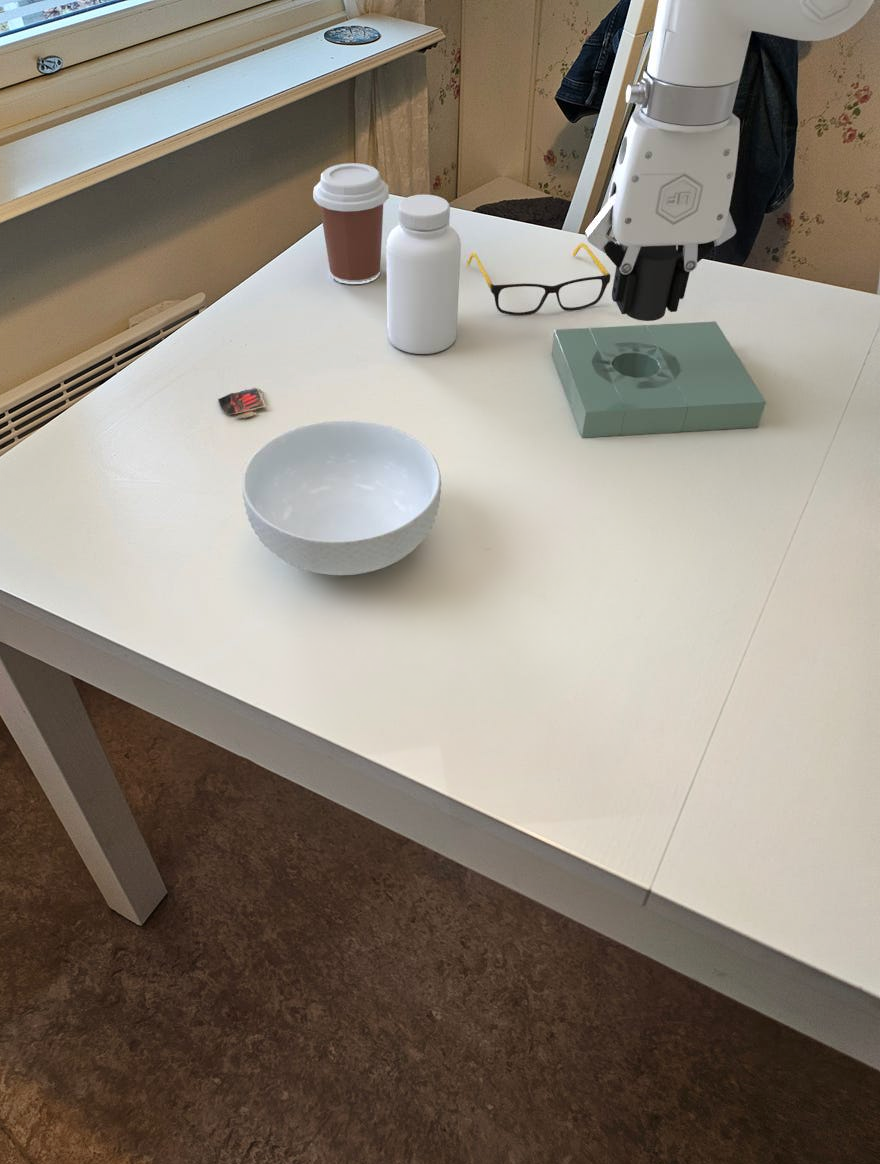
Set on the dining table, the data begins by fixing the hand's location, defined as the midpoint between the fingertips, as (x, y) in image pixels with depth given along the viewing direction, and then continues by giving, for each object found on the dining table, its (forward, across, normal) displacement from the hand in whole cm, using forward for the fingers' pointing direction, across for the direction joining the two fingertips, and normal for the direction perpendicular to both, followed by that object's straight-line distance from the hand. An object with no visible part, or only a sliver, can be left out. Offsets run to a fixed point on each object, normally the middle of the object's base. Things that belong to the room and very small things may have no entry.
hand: (645, 304), depth 88 cm
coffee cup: (+10, -28, +30) cm, 42 cm away
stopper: (+1, 0, 0) cm, 1 cm away
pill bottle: (+10, -21, +13) cm, 26 cm away
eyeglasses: (+10, -6, +24) cm, 26 cm away
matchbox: (+10, -41, +1) cm, 42 cm away
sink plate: (+10, +2, 0) cm, 10 cm away
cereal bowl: (+10, -31, -21) cm, 39 cm away
